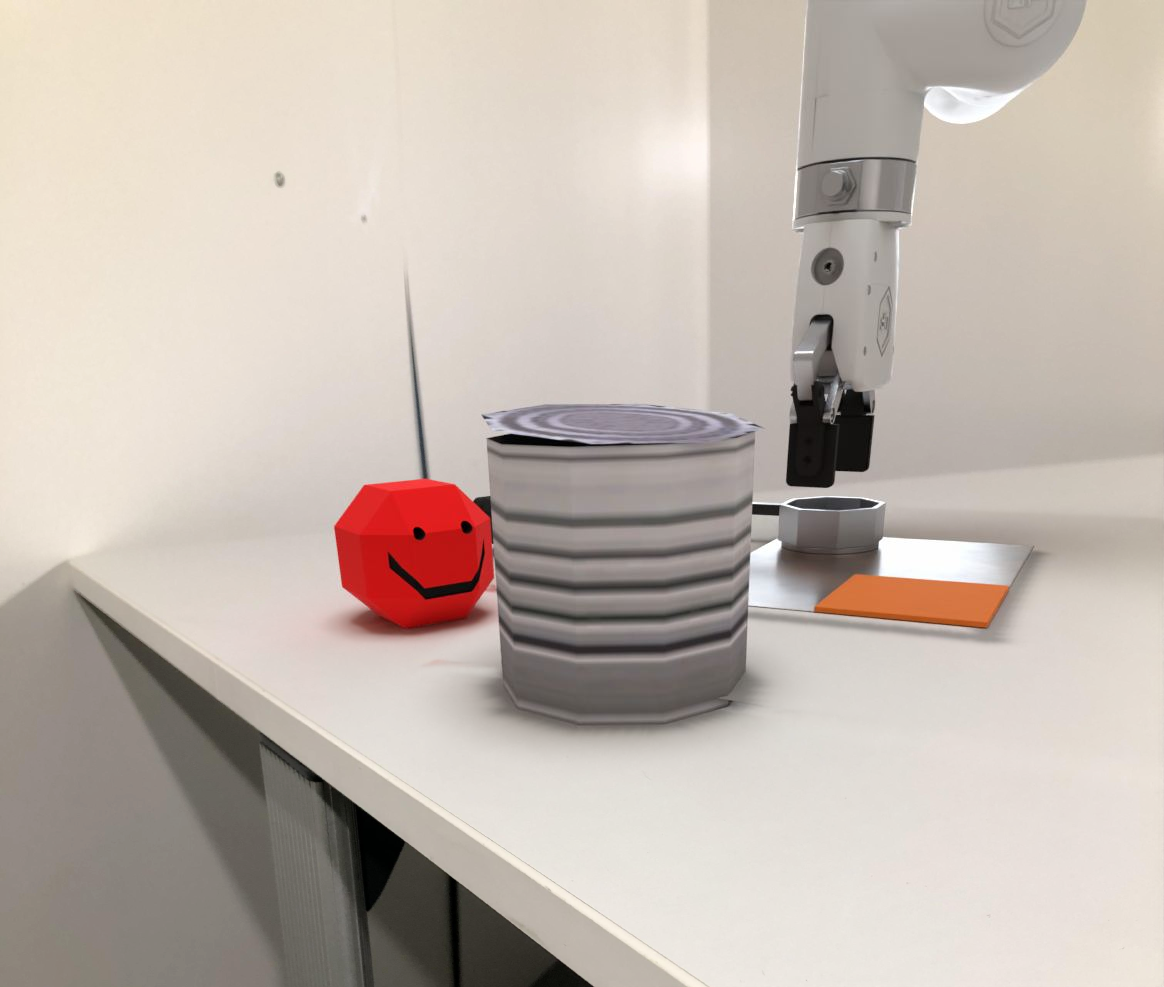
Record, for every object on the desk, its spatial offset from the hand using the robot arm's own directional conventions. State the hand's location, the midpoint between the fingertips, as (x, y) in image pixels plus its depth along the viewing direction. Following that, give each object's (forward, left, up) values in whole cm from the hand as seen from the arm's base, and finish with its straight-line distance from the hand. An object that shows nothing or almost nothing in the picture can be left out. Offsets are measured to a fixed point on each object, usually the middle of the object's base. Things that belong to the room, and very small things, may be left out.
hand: (829, 478), depth 69 cm
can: (+22, +25, -6) cm, 34 cm away
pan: (+2, -2, -5) cm, 5 cm away
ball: (+30, +9, -6) cm, 32 cm away
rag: (+3, +17, -5) cm, 18 cm away
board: (+1, +9, -5) cm, 10 cm away
